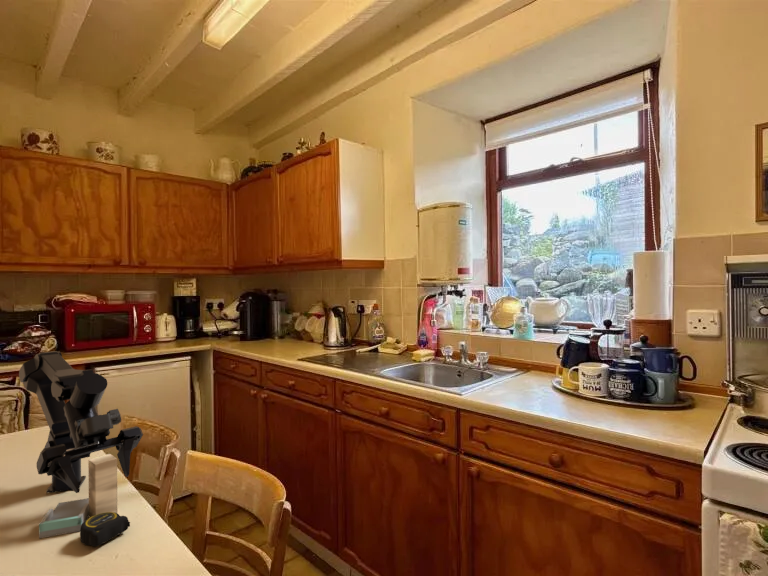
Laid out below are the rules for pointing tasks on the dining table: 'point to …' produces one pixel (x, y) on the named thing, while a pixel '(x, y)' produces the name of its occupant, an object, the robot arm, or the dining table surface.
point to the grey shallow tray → (64, 518)
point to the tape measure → (102, 528)
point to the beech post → (102, 484)
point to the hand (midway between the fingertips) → (103, 483)
